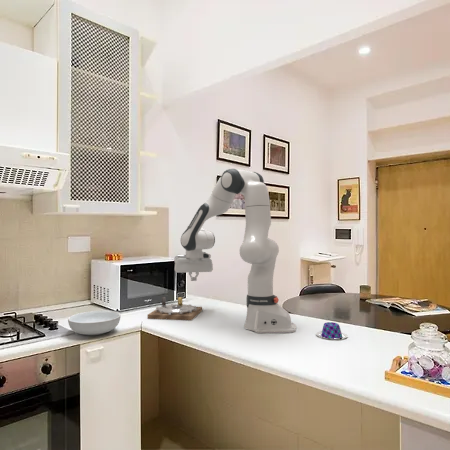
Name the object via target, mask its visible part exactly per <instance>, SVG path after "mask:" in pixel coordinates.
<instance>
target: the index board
mask: <svg viewBox="0 0 450 450" xmlns="http://www.w3.org/2000/svg"><path fill="white" fill-rule="evenodd" d="M166 298H167V297H166V296H162V297H161V306H162V305H167V303H166V302H167V301H166V300H167V299H166ZM202 311H203V306H196V311H192V313H183V314H171V315H169V314H164V313H163V314H160V312H155V310H153V311H151V312H149V313H148V314H147V319H148V320H149V319H150V320H168V321H169V320H171V321H193V320H194V319H195V318H196V317H197V316H198V315H199V314H200V313H201V312H202Z"/></svg>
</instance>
